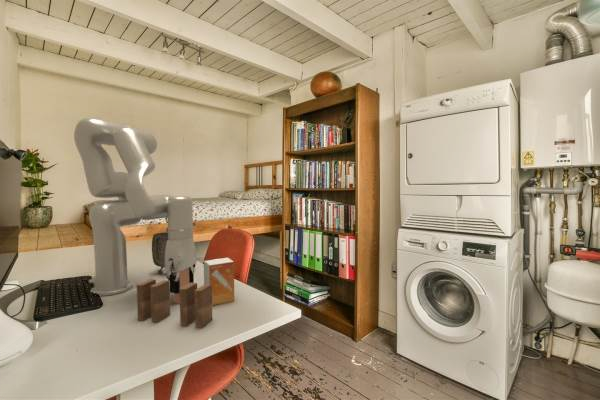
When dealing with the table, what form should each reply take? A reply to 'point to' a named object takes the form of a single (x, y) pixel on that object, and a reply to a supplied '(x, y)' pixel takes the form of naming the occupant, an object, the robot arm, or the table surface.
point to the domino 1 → (144, 299)
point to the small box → (220, 279)
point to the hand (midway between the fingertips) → (182, 288)
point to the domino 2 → (160, 301)
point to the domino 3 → (182, 282)
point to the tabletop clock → (159, 248)
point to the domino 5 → (203, 305)
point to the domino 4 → (187, 304)
